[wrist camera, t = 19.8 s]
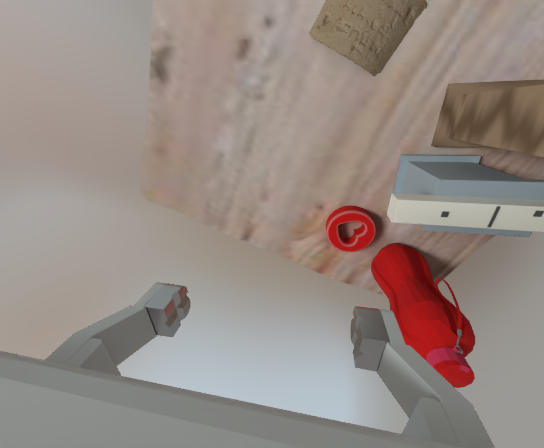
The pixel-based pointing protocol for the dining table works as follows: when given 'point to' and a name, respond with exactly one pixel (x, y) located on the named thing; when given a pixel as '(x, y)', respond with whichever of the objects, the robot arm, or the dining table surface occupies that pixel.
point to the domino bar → (467, 211)
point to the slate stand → (462, 185)
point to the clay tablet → (366, 28)
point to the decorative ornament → (361, 235)
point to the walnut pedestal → (493, 116)
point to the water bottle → (425, 313)
